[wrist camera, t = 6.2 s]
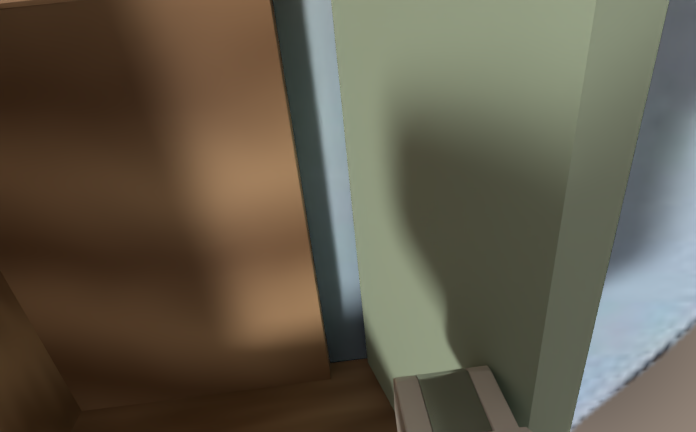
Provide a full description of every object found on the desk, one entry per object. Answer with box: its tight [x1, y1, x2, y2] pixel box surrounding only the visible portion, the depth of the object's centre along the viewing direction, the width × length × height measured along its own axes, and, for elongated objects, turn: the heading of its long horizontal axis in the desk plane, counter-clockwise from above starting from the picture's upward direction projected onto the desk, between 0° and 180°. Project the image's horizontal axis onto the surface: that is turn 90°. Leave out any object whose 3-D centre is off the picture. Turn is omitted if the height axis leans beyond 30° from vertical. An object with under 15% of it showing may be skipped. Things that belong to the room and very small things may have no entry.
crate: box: [0, 0, 397, 432], centre depth 13 cm, size 19×16×10 cm
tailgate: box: [331, 0, 669, 432], centre depth 13 cm, size 16×1×10 cm, turn 5°
